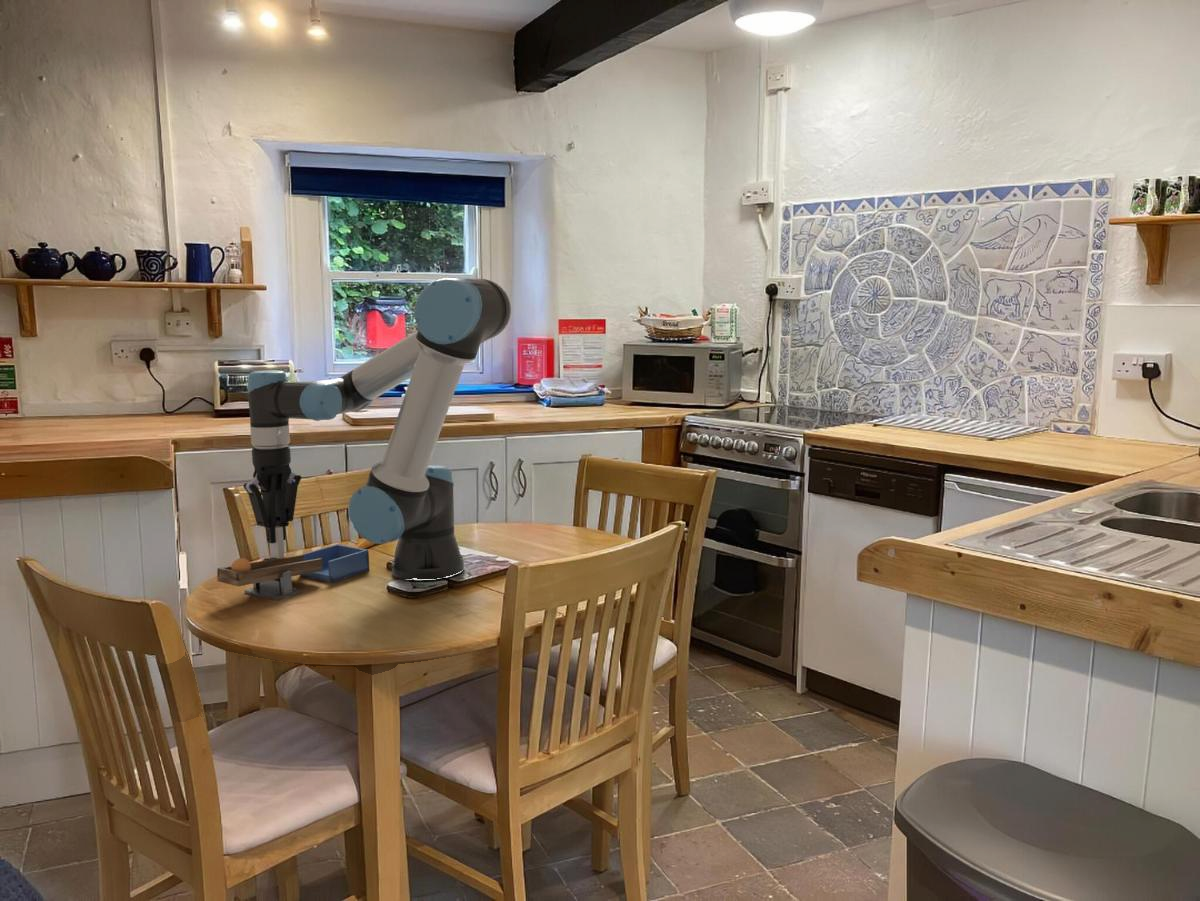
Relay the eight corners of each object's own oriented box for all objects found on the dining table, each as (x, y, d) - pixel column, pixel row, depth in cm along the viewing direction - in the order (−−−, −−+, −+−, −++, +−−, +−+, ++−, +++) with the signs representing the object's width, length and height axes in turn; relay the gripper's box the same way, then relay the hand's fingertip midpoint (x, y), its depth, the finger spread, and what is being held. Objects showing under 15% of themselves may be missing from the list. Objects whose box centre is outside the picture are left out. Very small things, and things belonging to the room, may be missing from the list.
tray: (369, 570, 203) (368, 549, 203) (331, 582, 194) (330, 561, 194) (338, 563, 208) (337, 544, 208) (299, 575, 200) (298, 555, 199)
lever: (322, 570, 194) (322, 558, 194) (238, 586, 177) (238, 573, 177) (278, 561, 202) (278, 549, 201) (194, 575, 185) (194, 562, 184)
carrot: (387, 537, 235) (380, 521, 234) (402, 532, 233) (394, 515, 233) (344, 567, 216) (336, 549, 216) (360, 561, 215) (351, 543, 214)
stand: (301, 592, 188) (299, 569, 187) (276, 600, 183) (274, 576, 182) (269, 585, 193) (268, 562, 192) (244, 592, 188) (242, 569, 187)
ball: (253, 577, 182) (255, 559, 182) (238, 578, 179) (240, 559, 179) (241, 574, 184) (244, 556, 184) (226, 575, 181) (228, 557, 181)
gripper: (284, 440, 202) (290, 547, 206) (232, 448, 191) (239, 561, 195) (308, 443, 198) (314, 552, 202) (256, 451, 187) (263, 567, 191)
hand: (277, 556), depth 198 cm, fingers closed
